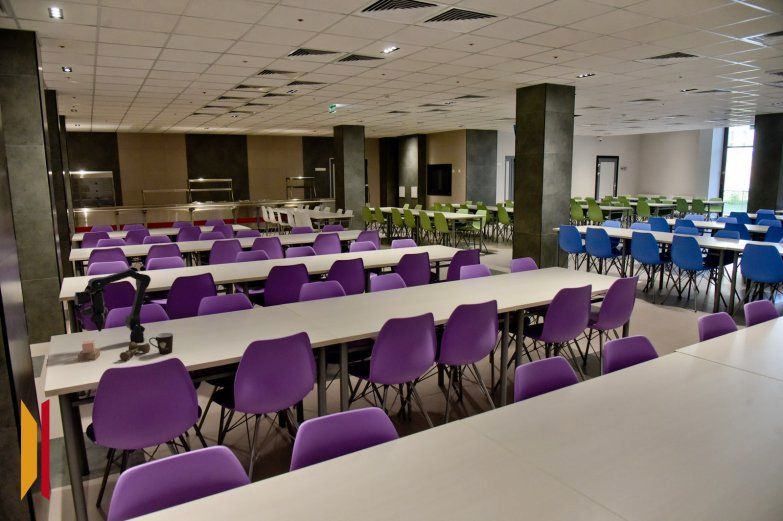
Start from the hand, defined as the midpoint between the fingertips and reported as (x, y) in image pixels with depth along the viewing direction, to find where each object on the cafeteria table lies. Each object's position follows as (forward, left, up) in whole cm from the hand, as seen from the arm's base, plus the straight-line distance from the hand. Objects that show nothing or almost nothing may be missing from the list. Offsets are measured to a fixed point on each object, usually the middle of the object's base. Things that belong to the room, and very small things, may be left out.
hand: (101, 329), depth 287 cm
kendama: (-18, +16, -12) cm, 27 cm away
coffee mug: (-32, +17, -12) cm, 38 cm away
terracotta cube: (+4, +13, -8) cm, 16 cm away
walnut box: (+4, +13, -12) cm, 18 cm away
